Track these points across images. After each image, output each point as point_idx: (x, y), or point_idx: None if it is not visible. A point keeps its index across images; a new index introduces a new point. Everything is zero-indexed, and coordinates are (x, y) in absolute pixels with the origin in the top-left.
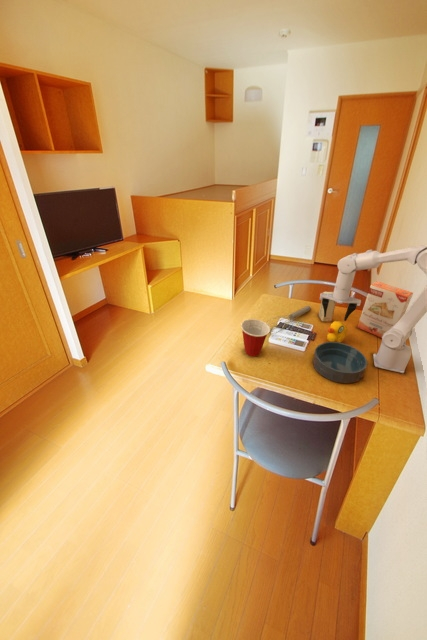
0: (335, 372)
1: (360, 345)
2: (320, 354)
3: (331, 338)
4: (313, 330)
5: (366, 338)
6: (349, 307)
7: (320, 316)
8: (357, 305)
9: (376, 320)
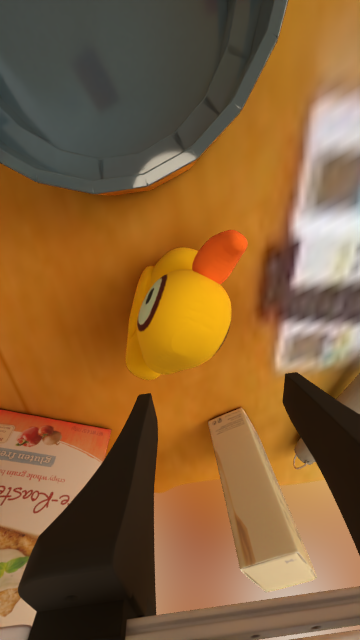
0: None
1: (59, 323)
2: (227, 32)
3: (190, 251)
4: (271, 333)
5: (57, 382)
6: (108, 559)
7: (254, 429)
8: (11, 637)
9: (13, 485)
